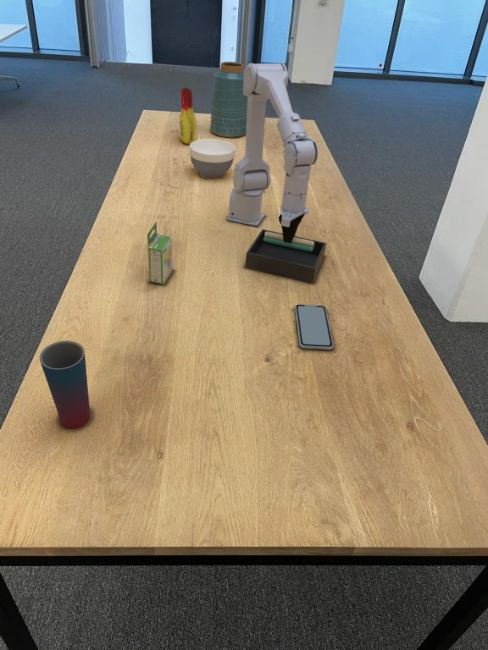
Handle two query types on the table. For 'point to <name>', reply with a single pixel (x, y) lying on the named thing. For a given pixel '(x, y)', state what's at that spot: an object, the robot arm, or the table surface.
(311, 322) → the smartphone
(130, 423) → the table surface
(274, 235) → the straws
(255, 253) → the bin
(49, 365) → the cup
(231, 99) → the vase
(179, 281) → the table surface
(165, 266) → the ink box
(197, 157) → the bowl
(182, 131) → the bottle
